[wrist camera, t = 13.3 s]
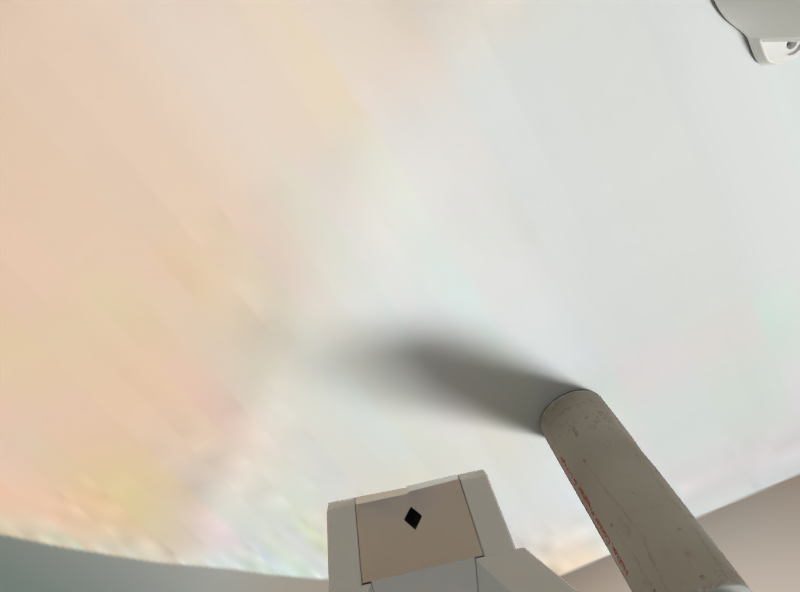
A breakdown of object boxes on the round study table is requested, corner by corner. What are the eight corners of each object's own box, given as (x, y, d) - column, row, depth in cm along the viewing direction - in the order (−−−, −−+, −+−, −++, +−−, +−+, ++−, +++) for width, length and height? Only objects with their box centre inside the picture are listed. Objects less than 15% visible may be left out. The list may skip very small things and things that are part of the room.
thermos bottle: (547, 450, 59) (710, 744, 35) (532, 406, 55) (705, 704, 31) (609, 425, 59) (817, 705, 34) (598, 379, 55) (826, 660, 30)
